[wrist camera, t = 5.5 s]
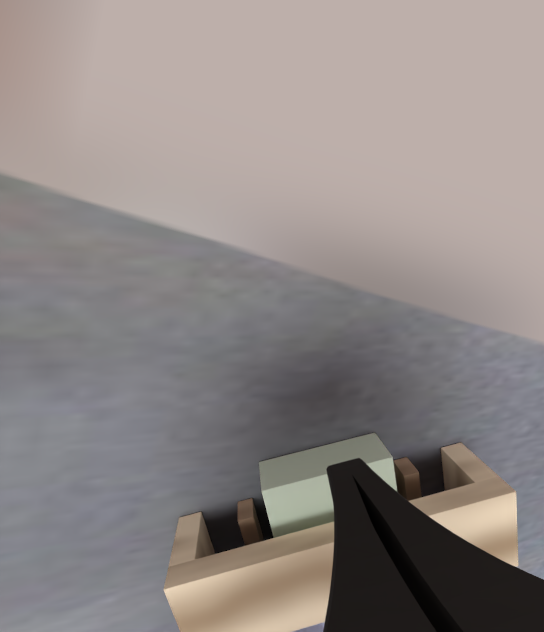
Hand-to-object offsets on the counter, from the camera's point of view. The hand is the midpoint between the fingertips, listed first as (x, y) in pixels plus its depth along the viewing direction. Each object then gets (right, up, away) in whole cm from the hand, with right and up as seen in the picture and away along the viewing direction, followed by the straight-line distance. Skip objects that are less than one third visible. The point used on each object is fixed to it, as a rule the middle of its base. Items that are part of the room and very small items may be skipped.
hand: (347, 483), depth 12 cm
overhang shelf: (+1, -7, +10) cm, 13 cm away
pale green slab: (+1, -6, +10) cm, 11 cm away
